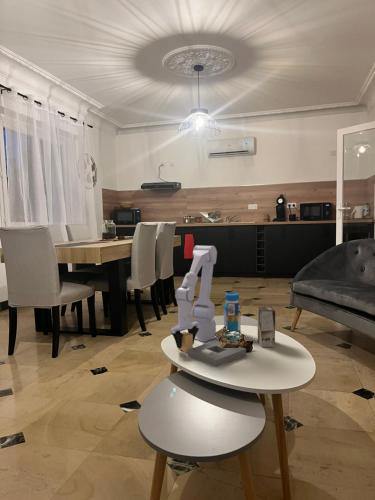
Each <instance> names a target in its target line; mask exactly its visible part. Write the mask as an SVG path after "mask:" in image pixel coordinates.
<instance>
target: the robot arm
mask: <svg viewBox="0 0 375 500" xmlns="http://www.w3.org/2000/svg"><path fill="white" fill-rule="evenodd" d="M217 255H218V251H217V248H216V246H215V245H198V244H197V245H195V246H194V247H193V251H192V256H193V260H192V264H191V267H190V269H189V272H187V273H186V274H185V276H184V278H183V281H182V283H181V286H180V287H179V288H177V289H176V290H175V295H174V296H175V297H174V298H175V299H176V304H177V305H178V306H177V307H178V311H177V312H178V313H177V315H178V318H177V320H178V324H177V325H175V326H173V327H171V328H170V334H171V335H172V337H173V338H174V343H175V345H176V348H177V349H178V348H180V349H181V347H182V337H183V334H182V331H185V330H187V332H188V333H191V334H193V345H195V340H197V341H200V342H202V343H204V342H207V341H212V340H214V339H216V338H218V336H217V337H215V335H214V334H215V333H216V334H217V326H216V325H217V324H216V321H215V315H216V310H215V304H214V303H213V302H212V300H211V299H210V298H211V292H212V291H211V289H212V281H213V280H212V279H213V273H214V265H215V264H216V263H217ZM201 268H202V269H201ZM200 270H201V278H200V286H199V287H200V288H199V293H198V294H199V295H198V299H197V300H195V301H193V300H194V298H195V297H194V296H195V292H196V291H195V287H196V285H197V282H198V281H199V277H198V274H199V272H200ZM192 302H193V305H192ZM192 318H193V319H194V321H192V320H193V319H192Z"/></svg>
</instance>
